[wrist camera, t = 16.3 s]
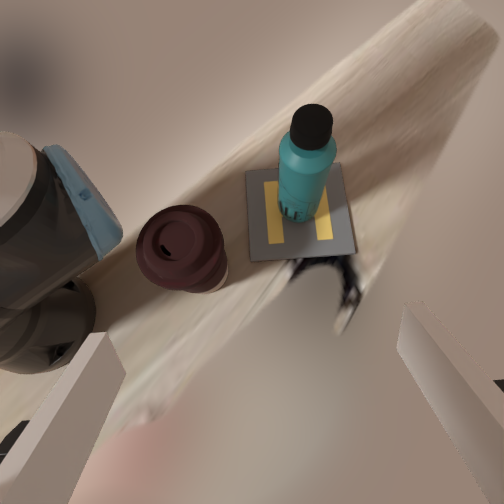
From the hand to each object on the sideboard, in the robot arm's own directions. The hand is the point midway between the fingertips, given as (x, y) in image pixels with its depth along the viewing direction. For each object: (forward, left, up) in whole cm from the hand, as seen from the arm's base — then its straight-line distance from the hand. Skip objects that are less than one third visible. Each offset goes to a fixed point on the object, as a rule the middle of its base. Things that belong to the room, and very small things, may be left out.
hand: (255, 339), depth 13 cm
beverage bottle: (+6, +20, -29) cm, 35 cm away
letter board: (+6, +20, -29) cm, 36 cm away
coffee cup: (-9, +11, -29) cm, 33 cm away
